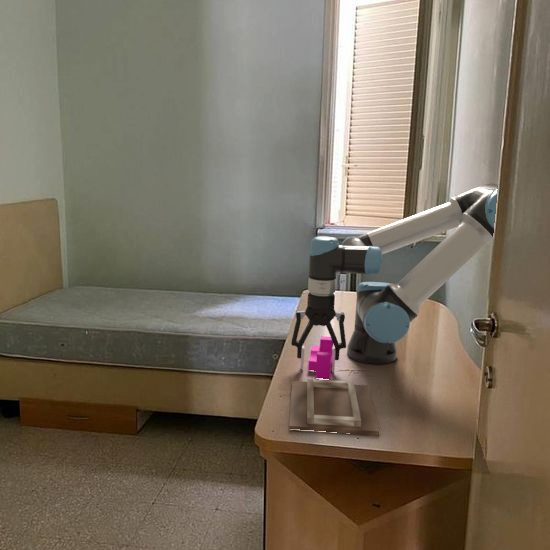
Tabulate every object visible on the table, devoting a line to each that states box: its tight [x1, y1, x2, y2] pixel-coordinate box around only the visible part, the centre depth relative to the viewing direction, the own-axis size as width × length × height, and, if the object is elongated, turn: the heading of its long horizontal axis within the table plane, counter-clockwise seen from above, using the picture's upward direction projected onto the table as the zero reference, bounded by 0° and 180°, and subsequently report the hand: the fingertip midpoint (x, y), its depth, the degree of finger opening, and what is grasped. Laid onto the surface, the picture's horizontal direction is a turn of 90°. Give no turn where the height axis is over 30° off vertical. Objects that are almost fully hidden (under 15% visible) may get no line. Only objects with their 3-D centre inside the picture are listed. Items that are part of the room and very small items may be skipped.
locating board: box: [288, 378, 380, 436], centre depth 131 cm, size 20×24×3 cm
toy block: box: [307, 335, 334, 380], centre depth 153 cm, size 15×6×8 cm, turn 171°
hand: (317, 369), depth 153 cm, fingers open, 8 cm apart
